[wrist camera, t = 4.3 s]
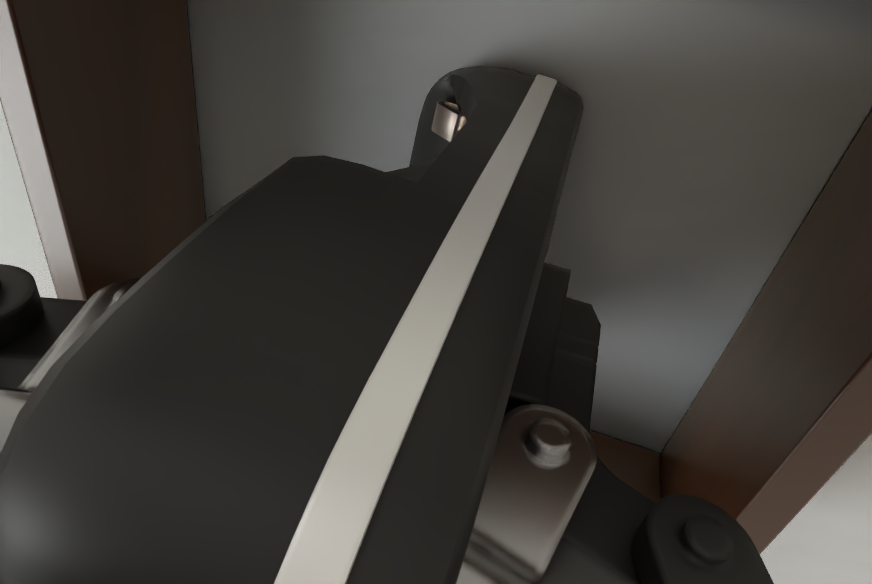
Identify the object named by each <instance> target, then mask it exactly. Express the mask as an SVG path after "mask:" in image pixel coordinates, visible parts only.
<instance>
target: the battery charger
mask: <svg viewBox="0 0 872 584" xmlns="http://www.w3.org/2000/svg"><path fill="white" fill-rule="evenodd" d="M556 84H557V80H555V79H552V78H549V77H546V76H543V75H540V74H538V75H537V76H536V78H534V77H530V76H527V75H524V74H521V73H518V72H515V71H512V70H508V69H504V68H490V67H482V66H478V67H468V68H461V69H457V70H455V71H452V72H449V73H448V74H446V75H445V76H443V77H442V78H441V79H440V80H439V81H438V82H436V83H435V85H434V86H433V87H432V88H431V90H430V91H429V93H428V95H427V97H426V100H425V103H424V106H423V109H422V112H421V115H420V119H419V123H418V128H417V132H416V137H415V142H414V147H413V151H412V156H411V161H410V166H409V167H407V168H403V169H399V170H394V171H390V172H383V171H380V170H377V169H374V168H371V167H368V166H365V165H362V164H358V163H354V162H349V161H345V160H341V159H337V158H332V157H328V156H324V155H323V156H306V157H293V158H291V159H290V160H289V161H287V162H286V163H285V164H283V165H282V166H281V167H279V168H278V169H277V170H275V171H274V172H273V173H271V174H270V175H269V176H267V177H266V178H264V179H263V180H262V181H260V182H259V183H257V184H256V185H254V186H253V187H251V188H250V189H248V190H247V191H246V192H244V193H243V194H241V195H240V196H238V197H237V198H235V199H234V200H232V201H231V202H229V203H228V204H227V205H225V206H224V207H222V208H221V209H220V210H219V211H218V212H216V213H215V214H214V215H213V216H212V217H210V218H209V219H208V220H207V221H206V222H205V223H203V224H202V225H201V226H200V227H199V228H198V229H196V230H195V231H194V232H193V233H192V234H191V235H189V236H188V237H187V238H186V239H185V240H184V241H182V242H181V243H180V244H179V245H178V246H177V247H176V248H175V249H173V250H172V251H171V252H170V253H169V254H168V255H167V256H166V257H164V258H163V259H162V260H161V261H160V262H159V263H158V264H157V265H156V266H154V267H153V268H152V269H151V270H150V271H149V272H148V273H147V274H145V275H144V276H143V277H142V278H141V279H140V280H139V281H138V282H137V283H136V284H134V285H133V286H132V287H131V288H130V289H129V290H128V291H127V292H126V293H125V294H124V295H123V296H122V297H120V298H119V299H118V300H117V301H116V302H115V303H114V304H113V305H112V306H111V307H110V308H109V309H107V310H106V311H105V312H104V313H103V314H102V315H101V316H100V317H99V318H98V319H97V320H96V321H94V322H93V323H92V324H91V325H90V326H89V327H88V328H87V329H86V330H85V331H84V332H83V334H82V335H81V336H80V337H79V338H78V339H77V340H76V341H75V342H74V343H73V344H72V345H71V346H70V347H69V348H68V349H67V350H66V351H65V352H64V353H63V354H62V356H61V357H60V358H59V359H58V360H57V361H56V362H55V363H54V364H53V365H52V366H51V367H50V369H49V370H48V372H47V373H46V374H45V376H44V377H43V379H42V380H41V381H40V383H39V384H38V386H37V387H36V389H35V390H34V391H33V393H32V394H31V396H30V397H29V398H28V400H27V401H26V403H25V404H24V406H23V407H22V408H21V410H20V411H19V413H18V415H17V417H16V419H15V422H14V424H13V426H12V428H11V431H10V433H9V435H8V438H7V440H6V442H5V445H4V447H3V449H2V451H1V454H0V584H456V583H457V580H458V576H459V573H460V570H461V566H462V563H463V560H464V557H465V553H466V550H467V547H468V544H469V540H470V537H471V534H472V531H473V527H474V523H475V520H476V516H477V513H478V509H479V505H480V502H481V498H482V495H483V491H484V488H485V484H486V480H487V477H488V473H489V469H490V466H491V462H492V458H493V454H494V451H495V447H496V443H497V439H498V436H499V432H500V428H501V424H502V421H503V417H504V413H505V409H506V406H507V402H508V398H509V394H510V391H511V387H512V383H513V379H514V376H515V372H516V368H517V364H518V360H519V357H520V353H521V349H522V345H523V341H524V338H525V334H526V330H527V326H528V322H529V319H530V315H531V311H532V307H533V303H534V299H535V296H536V292H537V288H538V284H539V280H540V276H541V272H542V268H543V264H544V260H545V257H546V253H547V249H548V245H549V241H550V237H551V233H552V229H553V225H554V221H555V217H556V213H557V209H558V205H559V201H560V196H561V192H562V188H563V184H564V180H565V176H566V172H567V168H568V164H569V160H570V157H571V153H572V149H573V146H574V142H575V138H576V134H577V131H578V127H579V123H580V120H581V116H582V112H583V103H582V99H581V97H580V96H579V95H578V94H577V93H576V92H574V91H572V90H570V89H568V88H565V87H562V86H559V85H556Z"/></svg>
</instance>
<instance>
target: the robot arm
mask: <svg viewBox="0 0 872 584" xmlns="http://www.w3.org/2000/svg"><path fill="white" fill-rule="evenodd" d="M570 273H571V270H568V269H565V268H561V267H558V266H555V265H551V264H548V263H544V264H543V268H542V272H541V276H540V280H539V284H538V288H537V292H536V296H535V299H534V303H533V307H532V311H531V315H530V319H529V322H528V326H527V330H526V334H525V338H524V341H523V345H522V349H521V353H520V357H519V360H518V364H517V368H516V372H515V376H514V379H513V383H512V387H511V391H510V394H509V398H508V402H507V406H506V409H505V413H504V417H503V421H502V424H501V428H500V432H499V436H498V439H497V443H496V447H495V451H494V454H493V458H492V462H491V466H490V469H489V473H488V477H487V480H486V484H485V488H484V491H483V495H482V498H481V502H480V505H479V509H478V513H477V516H476V520H475V523H474V527H473V531H472V534H471V537H470V540H469V544H468V547H467V550H466V553H465V557H464V560H463V563H462V566H461V570H460V573H459V576H458V580H457V583H456V584H774V583H773V581H772V579H771V577H770V575H769V573H768V571H767V569H766V567H765V565H764V563H763V561H762V559H761V557H760V555H759V552H758V550H757V548H756V546H755V545H754V543H753V541H752V539H751V538H750V536H749V535H748V534H747V532H746V531H745V529H744V528H743V527H742V526H741V525H740V524H739V523H738V522H737V521H736V520H735V519H734V518H733V517H732V516H731V515H729V514H728V513H727V512H725V511H724V510H723V509H721V508H720V507H718V506H716V505H715V504H713V503H711V502H709V501H707V500H704V499H702V498H699V497H695V496H692V495H685V494H674V495H669V496H666V497H663V498H661V499H659V500H658V501H657V502H656V503H655V502H654V501H652V500H651V499H649V498H648V497H646V496H644V495H643V494H641V493H640V492H638V491H637V490H635V489H633V488H632V487H630V486H629V485H627V484H626V483H624V482H623V481H622V480H620V479H619V478H618V477H616V476H615V475H614V474H613V473H612V472H611V471H610V470H609V469H608V468H607V467H606V466H605V465H604V463H603V462H602V461H601V459H600V458H599V456H598V455H597V453H596V447H595V444H594V442H593V440H592V438H591V436H590V422H591V413H592V403H593V394H594V384H595V375H596V366H597V365H596V362H597V356H598V345H599V337H600V328H601V324H600V322H599V320H598V318H597V316H596V314H595V312H594V309H593V307H592V305H591V304H588V303H584V302H581V301H578V300H574V299H571V298H568V297H566V293H567V288H568V283H569V278H570ZM140 279H141V278H135V279H128V280H123V281H119V282H116V283H113V284H110V285H108V286H106V287H104V288H102V289H100V290H99V291H97V292H96V293H95V294H93V295H92V296H91V297H90V299H89V300H88V301H81V300H69V299H56V298H43V297H40V295H39V292H38V289H37V286H36V282H35V280H34V278H33V276H32V275H31V274H30V273H29V272H27V271H26V270H24V269H21V268H19V267H15V266H11V265H3V264H0V454H1V451H2V449H3V447H4V445H5V442H6V440H7V438H8V435H9V433H10V431H11V428H12V426H13V424H14V422H15V419H16V417H17V415H18V413H19V411H20V410H21V408H22V407H23V406H24V404H25V403H26V401H27V400H28V398H29V397H30V396H31V394H32V393H33V391H34V390H35V389H36V387H37V386H38V384H39V383H40V381H41V380H42V379H43V377H44V376H45V374H46V373H47V372H48V370H49V369H50V367H51V366H52V365H53V364H54V363H55V362H56V361H57V360H58V359H59V358H60V357H61V356H62V354H63V353H64V352H65V351H66V350H67V349H68V348H69V347H70V346H71V345H72V344H73V343H74V342H75V341H76V340H77V339H78V338H79V337H80V336H81V335H82V334H83V332H84V331H85V330H86V329H87V328H88V327H89V326H90V325H91V324H92V323H93V322H94V321H96V320H97V319H98V318H99V317H100V316H101V315H102V314H103V313H104V312H105V311H106V310H107V309H109V308H110V307H111V306H112V305H113V304H114V303H115V302H116V301H117V300H118V299H119V298H120V297H122V296H123V295H124V294H125V293H126V292H127V291H128V290H129V289H130V288H131V287H132V286H133V285H134V284H136V283H137V282H138V281H139V280H140Z"/></svg>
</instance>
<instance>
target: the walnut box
mask: <svg viewBox="0 0 872 584" xmlns="http://www.w3.org/2000/svg"><path fill="white" fill-rule="evenodd" d="M0 101H1V104H2V108H3V111H4V115H5V118H6V121H7V125H8V128H9V132H10V135H11V139H12V142H13V146H14V149H15V152H16V156H17V159H18V163H19V166H20V170H21V173H22V177H23V180H24V184H25V187H26V190H27V194H28V197H29V201H30V204H31V208H32V211H33V215H34V218H35V221H36V225H37V228H38V232H39V235H40V239H41V242H42V246H43V249H44V252H45V256H46V259H47V263H48V266H49V270H50V273H51V277H52V280H53V283H54V287H55V290H56V294H57V297H58V299H69V300H81V301H88V300H89V299H90V297H91V296H92V295H93V294H95V293H96V292H97V291H99V290H100V289H102V288H104V287H106V286H108V285H110V284H113V283H116V282H119V281H123V280H128V279H135V278H142V277H143V276H144V275H145V274H147V273H148V272H149V271H150V270H151V269H152V268H153V267H154V266H156V265H157V264H158V263H159V262H160V261H161V260H162V259H163V258H164V257H166V256H167V255H168V254H169V253H170V252H171V251H172V250H173V249H175V248H176V247H177V246H178V245H179V244H180V243H181V242H182V241H184V240H185V239H186V238H187V237H188V236H189V235H191V234H192V233H193V232H194V231H195V230H196V229H198V228H199V227H200V226H201V225H202V224H203V223H205V222H206V218H205V207H204V196H203V185H202V174H201V163H200V151H199V140H198V129H197V118H196V107H195V96H194V85H193V74H192V62H191V51H190V40H189V29H188V18H187V7H186V0H0ZM871 433H872V111H871V113H870V114H869V116H868V118H867V119H866V121H865V122H864V124H863V126H862V127H861V129H860V131H859V132H858V134H857V135H856V137H855V139H854V140H853V142H852V144H851V145H850V147H849V148H848V150H847V152H846V153H845V155H844V157H843V158H842V160H841V162H840V163H839V165H838V166H837V168H836V170H835V171H834V173H833V175H832V176H831V178H830V179H829V181H828V183H827V184H826V186H825V188H824V189H823V191H822V192H821V194H820V196H819V197H818V199H817V201H816V202H815V204H814V206H813V207H812V209H811V210H810V212H809V214H808V215H807V217H806V219H805V220H804V222H803V223H802V225H801V227H800V228H799V230H798V232H797V233H796V235H795V236H794V238H793V240H792V241H791V243H790V245H789V246H788V248H787V250H786V251H785V253H784V254H783V256H782V258H781V259H780V261H779V263H778V264H777V266H776V267H775V269H774V271H773V272H772V274H771V276H770V277H769V279H768V280H767V282H766V284H765V285H764V287H763V289H762V290H761V292H760V294H759V295H758V297H757V298H756V300H755V302H754V303H753V305H752V307H751V308H750V310H749V311H748V313H747V315H746V316H745V318H744V320H743V321H742V323H741V324H740V326H739V328H738V329H737V331H736V333H735V334H734V336H733V338H732V339H731V341H730V342H729V344H728V346H727V347H726V349H725V351H724V352H723V354H722V355H721V357H720V359H719V360H718V362H717V364H716V365H715V367H714V369H713V370H712V372H711V373H710V375H709V377H708V378H707V380H706V382H705V383H704V385H703V386H702V388H701V390H700V391H699V393H698V395H697V396H696V398H695V399H694V401H693V403H692V404H691V406H690V408H689V409H688V411H687V413H686V414H685V416H684V417H683V419H682V421H681V422H680V424H679V426H678V427H677V429H676V430H675V432H674V434H673V435H672V437H671V439H670V440H669V442H668V443H667V445H666V447H665V448H664V450H663V452H662V453H661V455H660V454H659V453H657V452H654V451H651V450H648V449H645V448H642V447H639V446H636V445H632V444H629V443H626V442H623V441H620V440H617V439H614V438H611V437H608V436H605V435H602V434H599V433H596V432H593V431H590V436H591V438H592V440H593V442H594V444H595V447H596V453H597V455H598V456H599V458H600V459H601V461H602V462H603V463H604V465H605V466H606V467H607V468H608V469H609V470H610V471H611V472H612V473H613V474H614V475H615V476H616V477H618V478H619V479H620V480H622V481H623V482H624V483H626V484H627V485H629V486H630V487H632V488H633V489H635V490H637V491H638V492H640V493H641V494H643V495H644V496H646V497H648V498H649V499H651V500H652V501H654V502H655V503H656V502H657V501H658V500H659V499H661V498H663V497H666V496H669V495H674V494H685V495H692V496H695V497H699V498H702V499H704V500H707V501H709V502H711V503H713V504H715V505H716V506H718V507H720V508H721V509H723V510H724V511H725V512H727V513H728V514H729V515H731V516H732V517H733V518H734V519H735V520H736V521H737V522H738V523H739V524H740V525H741V526H742V527H743V528H744V529H745V531H746V532H747V534H748V535H749V536H750V538H751V539H752V541H753V543H754V545H755V546H756V548H757V550H758V552H759V555H760V554H761V553H762V551H763V550H764V549H765V548H766V547H767V546H768V545H769V544H770V543H771V542H772V541H773V540H774V538H775V537H776V536H777V535H778V534H779V533H780V532H781V531H782V530H783V529H784V528H785V527H786V525H787V524H788V523H789V522H790V521H791V520H792V519H793V518H794V517H795V516H796V515H797V514H798V512H799V511H800V510H801V509H802V508H803V507H804V506H805V505H806V504H807V503H808V502H809V501H810V499H811V498H812V497H813V496H814V495H815V494H816V493H817V492H818V491H819V490H820V489H821V488H822V487H823V485H824V484H825V483H826V482H827V481H828V480H829V479H830V478H831V477H832V476H833V475H834V474H835V472H836V471H837V470H838V469H839V468H840V467H841V466H842V465H843V464H844V463H845V462H846V461H847V459H848V458H849V457H850V456H851V455H852V454H853V453H854V452H855V451H856V450H857V449H858V448H859V446H860V445H861V444H862V443H863V442H864V441H865V440H866V439H867V438H868V437H869V436H870V435H871Z"/></svg>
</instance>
